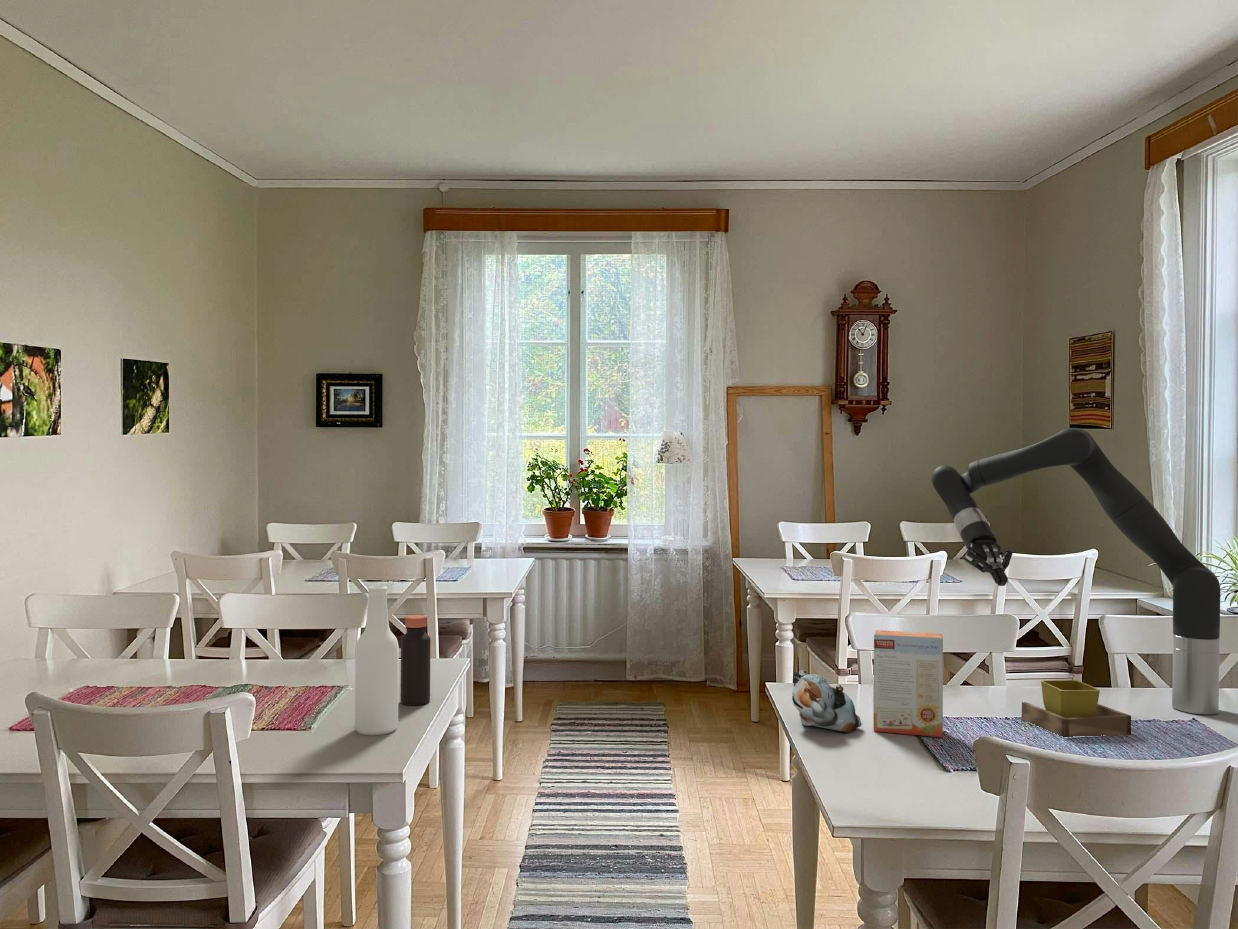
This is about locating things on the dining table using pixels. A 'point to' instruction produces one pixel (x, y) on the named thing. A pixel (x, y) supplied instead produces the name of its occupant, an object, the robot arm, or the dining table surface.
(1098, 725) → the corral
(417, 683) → the bottle
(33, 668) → the dining table surface
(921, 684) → the cracker box
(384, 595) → the alcohol
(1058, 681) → the flower pot
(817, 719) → the lucky cat figurine
